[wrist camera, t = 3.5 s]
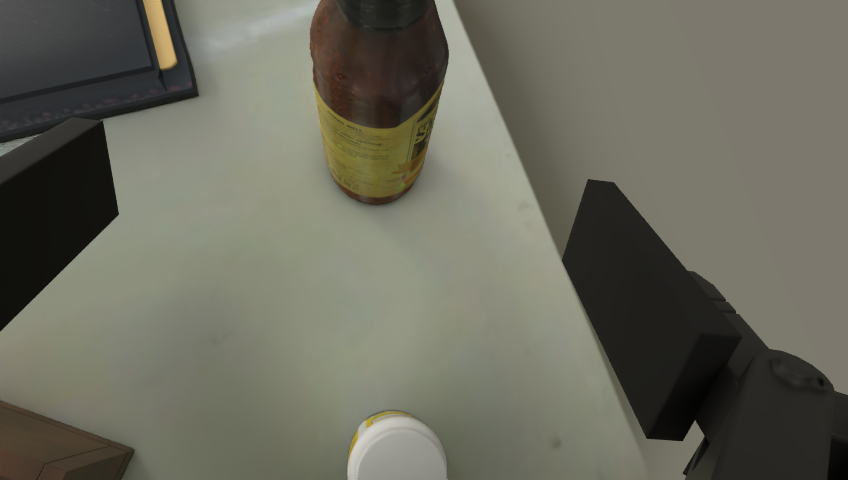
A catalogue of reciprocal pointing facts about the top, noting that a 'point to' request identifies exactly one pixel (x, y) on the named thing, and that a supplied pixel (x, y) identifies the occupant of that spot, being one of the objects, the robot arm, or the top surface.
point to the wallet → (87, 61)
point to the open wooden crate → (55, 450)
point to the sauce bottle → (377, 91)
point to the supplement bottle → (395, 449)
